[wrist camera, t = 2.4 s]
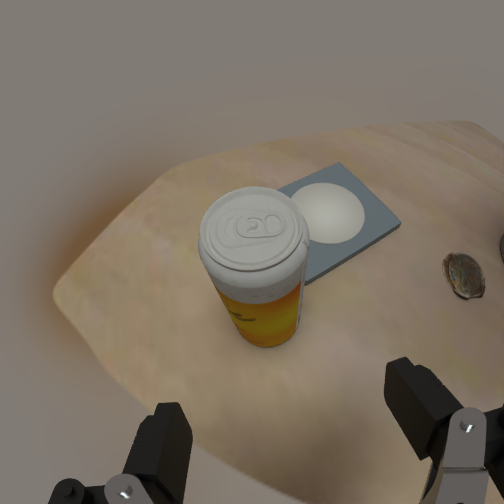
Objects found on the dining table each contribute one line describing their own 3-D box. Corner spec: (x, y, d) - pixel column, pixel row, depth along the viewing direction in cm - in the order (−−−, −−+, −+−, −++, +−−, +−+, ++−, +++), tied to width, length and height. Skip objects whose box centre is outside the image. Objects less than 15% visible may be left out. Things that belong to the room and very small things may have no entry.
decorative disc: (473, 252, 28) (477, 248, 27) (487, 297, 25) (492, 294, 24) (436, 255, 29) (439, 250, 28) (449, 304, 25) (453, 300, 25)
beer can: (236, 291, 29) (198, 186, 16) (296, 288, 29) (303, 178, 16) (236, 349, 26) (186, 280, 13) (301, 346, 25) (318, 272, 13)
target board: (338, 167, 37) (339, 161, 36) (399, 227, 31) (402, 221, 30) (249, 208, 35) (248, 202, 34) (305, 285, 29) (306, 280, 28)
